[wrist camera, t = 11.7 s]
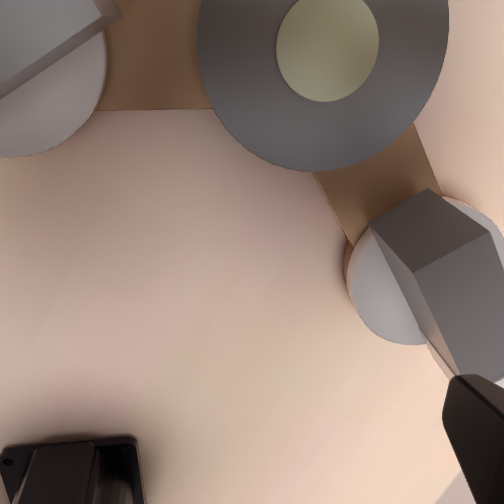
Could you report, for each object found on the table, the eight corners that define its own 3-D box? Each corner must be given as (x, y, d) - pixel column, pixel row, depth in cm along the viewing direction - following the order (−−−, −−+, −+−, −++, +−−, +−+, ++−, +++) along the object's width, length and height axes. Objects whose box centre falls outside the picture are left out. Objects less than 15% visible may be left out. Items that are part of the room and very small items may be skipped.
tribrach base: (459, 308, 23) (488, 340, 21) (-3, 340, 21) (-26, 379, 18) (628, -434, 13) (723, -531, 10) (-249, -543, 10) (-368, -697, 8)
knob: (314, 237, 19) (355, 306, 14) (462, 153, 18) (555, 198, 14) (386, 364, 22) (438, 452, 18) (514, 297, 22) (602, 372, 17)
